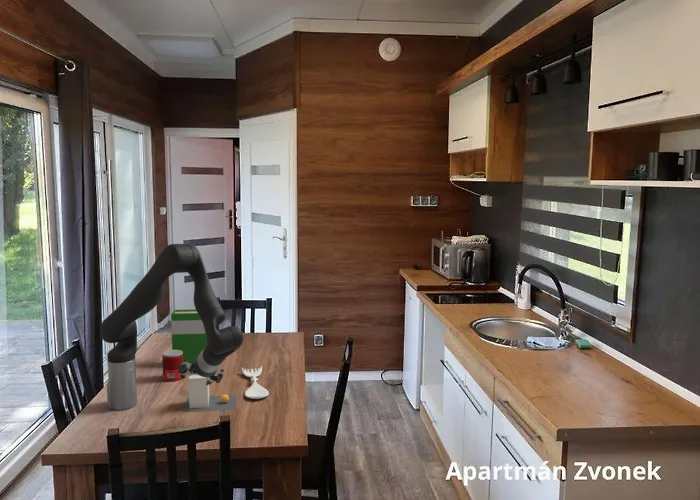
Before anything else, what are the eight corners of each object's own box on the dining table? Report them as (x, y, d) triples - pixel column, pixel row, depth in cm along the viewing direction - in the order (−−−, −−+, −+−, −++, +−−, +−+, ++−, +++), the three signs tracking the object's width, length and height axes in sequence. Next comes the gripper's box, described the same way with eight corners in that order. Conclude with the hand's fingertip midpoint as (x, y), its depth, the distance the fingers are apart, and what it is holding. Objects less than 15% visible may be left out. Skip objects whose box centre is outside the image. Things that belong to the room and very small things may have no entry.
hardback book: (216, 361, 246) (215, 309, 243) (214, 366, 239) (213, 313, 235) (175, 362, 243) (174, 309, 240) (172, 368, 236) (171, 313, 233)
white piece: (262, 372, 233) (262, 364, 233) (270, 402, 202) (270, 393, 202) (240, 373, 231) (240, 366, 230) (245, 404, 200) (245, 395, 200)
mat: (183, 413, 191) (182, 404, 190) (187, 398, 204) (187, 390, 203) (235, 410, 194) (235, 401, 194) (236, 396, 207) (236, 387, 206)
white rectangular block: (189, 408, 194) (188, 378, 193) (191, 401, 201) (190, 372, 199) (208, 407, 195) (207, 377, 194) (209, 400, 202) (208, 371, 200)
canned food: (187, 378, 224) (186, 352, 223) (169, 383, 219) (168, 356, 217) (177, 373, 230) (176, 348, 228) (159, 378, 224) (158, 352, 222)
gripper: (232, 356, 179) (217, 374, 191) (190, 344, 174) (177, 364, 186) (228, 377, 175) (213, 394, 186) (184, 366, 170) (171, 384, 181)
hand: (195, 379), depth 186 cm, fingers open, 8 cm apart
